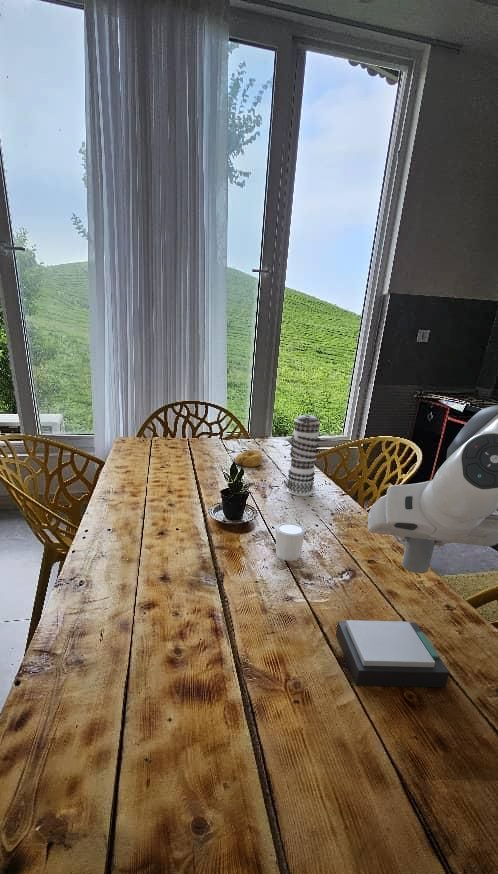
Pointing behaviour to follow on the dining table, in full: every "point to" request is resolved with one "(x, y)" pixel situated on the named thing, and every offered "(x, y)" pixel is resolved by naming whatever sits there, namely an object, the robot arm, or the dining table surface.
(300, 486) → the banded tower model
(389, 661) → the scale
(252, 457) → the bagel
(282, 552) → the white short cylinder
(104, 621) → the dining table surface
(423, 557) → the grey hollow tube
